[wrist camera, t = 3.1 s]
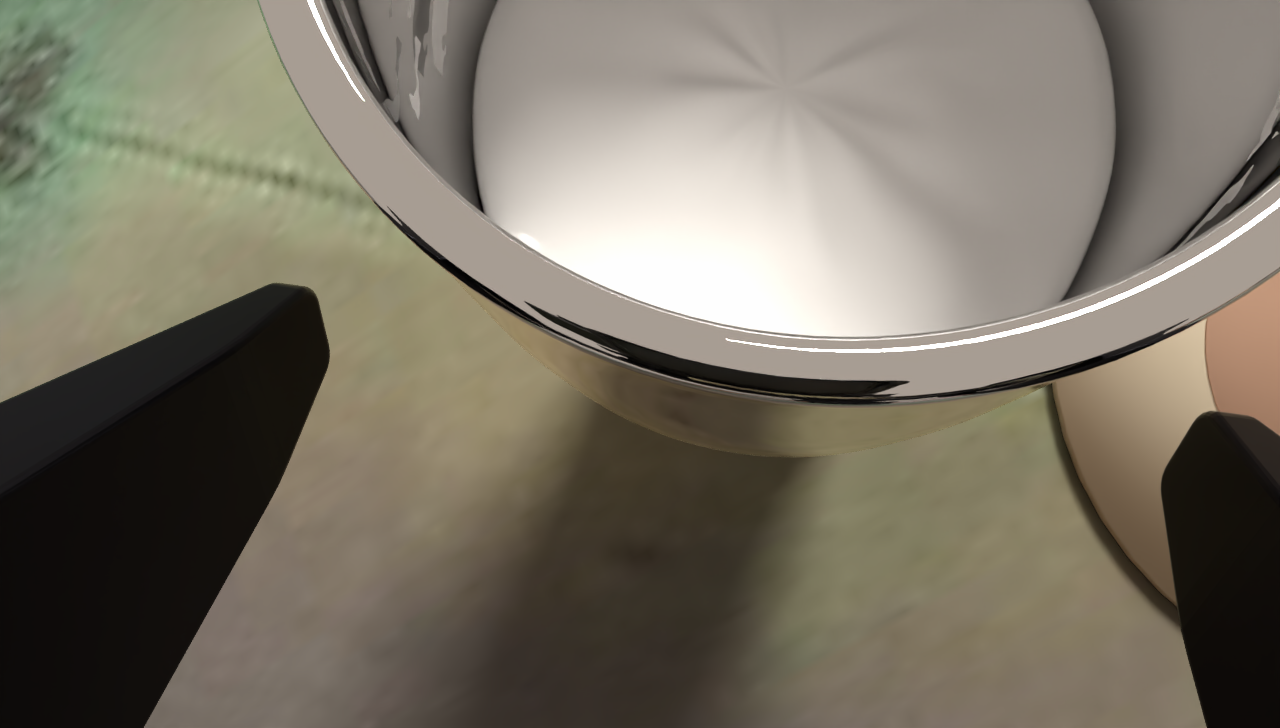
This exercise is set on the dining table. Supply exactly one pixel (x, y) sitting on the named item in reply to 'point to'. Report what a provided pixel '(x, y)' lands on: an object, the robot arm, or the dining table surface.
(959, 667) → the dining table surface
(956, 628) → the dining table surface
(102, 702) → the robot arm
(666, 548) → the dining table surface
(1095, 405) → the coaster
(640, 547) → the dining table surface
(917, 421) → the silver tall cup
